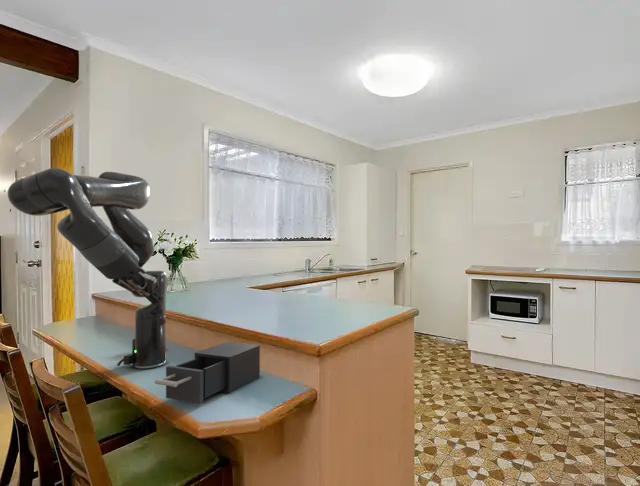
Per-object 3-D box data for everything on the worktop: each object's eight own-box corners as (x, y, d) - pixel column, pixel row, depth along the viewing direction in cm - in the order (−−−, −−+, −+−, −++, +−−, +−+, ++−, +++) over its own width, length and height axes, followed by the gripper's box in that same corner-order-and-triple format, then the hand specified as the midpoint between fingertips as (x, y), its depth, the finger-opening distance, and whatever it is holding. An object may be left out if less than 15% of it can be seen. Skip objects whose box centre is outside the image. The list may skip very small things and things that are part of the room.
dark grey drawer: (181, 413, 89) (182, 378, 89) (146, 406, 93) (146, 373, 93) (233, 386, 106) (233, 357, 106) (202, 381, 110) (202, 354, 110)
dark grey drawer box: (229, 393, 104) (229, 357, 104) (194, 387, 108) (194, 352, 108) (259, 377, 117) (259, 345, 117) (227, 372, 121) (227, 341, 121)
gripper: (142, 241, 80) (187, 291, 91) (100, 241, 84) (148, 289, 96) (118, 266, 75) (169, 315, 86) (74, 265, 79) (129, 312, 91)
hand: (158, 301), depth 91 cm, fingers closed
